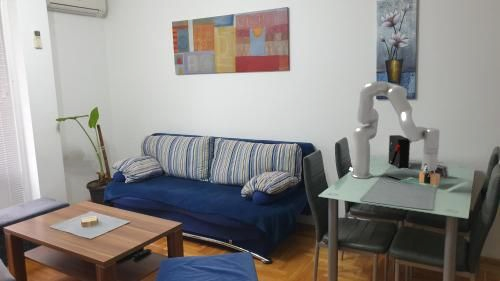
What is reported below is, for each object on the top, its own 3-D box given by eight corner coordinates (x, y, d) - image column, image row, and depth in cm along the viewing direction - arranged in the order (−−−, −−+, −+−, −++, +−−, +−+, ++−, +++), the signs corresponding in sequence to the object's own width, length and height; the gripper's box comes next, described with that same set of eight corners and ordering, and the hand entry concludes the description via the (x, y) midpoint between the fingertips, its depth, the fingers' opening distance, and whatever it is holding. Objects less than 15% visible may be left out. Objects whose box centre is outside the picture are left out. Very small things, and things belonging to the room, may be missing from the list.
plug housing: (418, 181, 222) (419, 172, 221) (422, 180, 225) (423, 171, 224) (435, 185, 215) (436, 175, 214) (439, 183, 217) (440, 174, 216)
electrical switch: (449, 179, 234) (449, 164, 233) (442, 181, 233) (442, 166, 231) (437, 176, 243) (437, 161, 241) (430, 177, 242) (430, 163, 240)
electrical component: (411, 168, 263) (412, 139, 259) (396, 168, 263) (397, 139, 260) (401, 162, 280) (403, 135, 277) (387, 162, 280) (388, 135, 277)
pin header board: (398, 183, 230) (399, 173, 229) (410, 178, 238) (411, 169, 238) (436, 191, 213) (436, 181, 212) (447, 185, 222) (448, 176, 221)
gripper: (431, 147, 225) (429, 178, 228) (416, 151, 214) (415, 184, 217) (444, 149, 219) (442, 180, 222) (430, 153, 208) (428, 186, 211)
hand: (429, 182), depth 220 cm, fingers closed on plug housing, 4 cm apart
